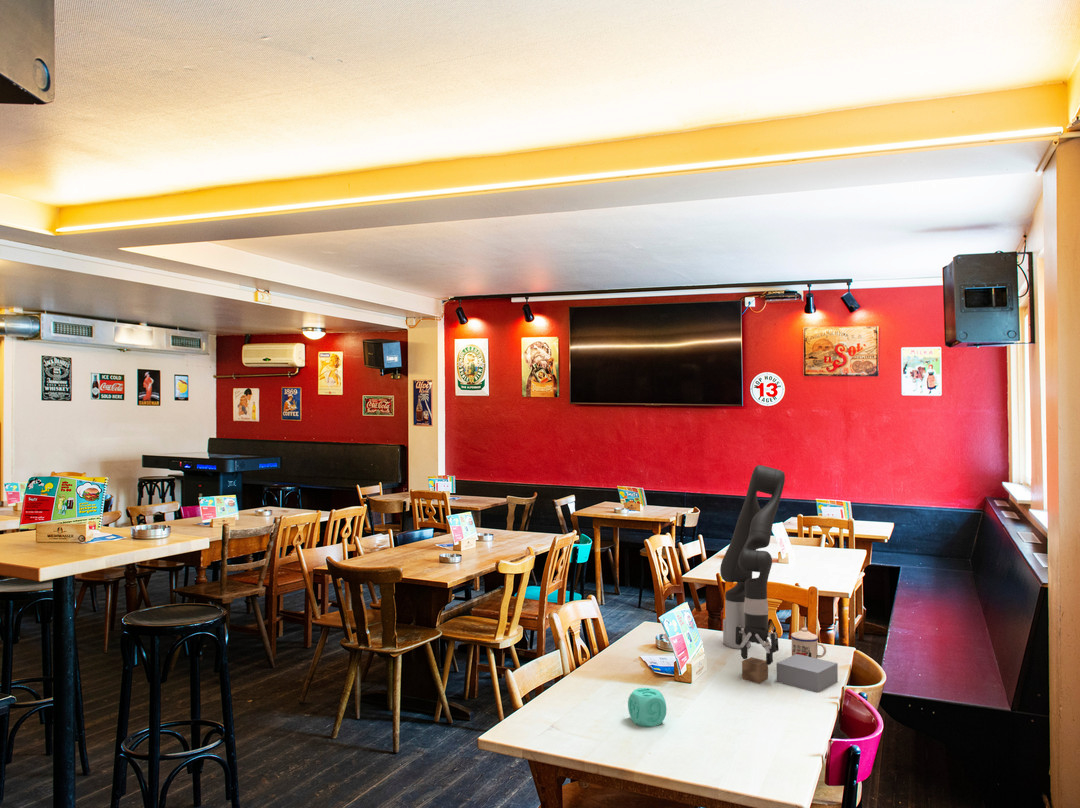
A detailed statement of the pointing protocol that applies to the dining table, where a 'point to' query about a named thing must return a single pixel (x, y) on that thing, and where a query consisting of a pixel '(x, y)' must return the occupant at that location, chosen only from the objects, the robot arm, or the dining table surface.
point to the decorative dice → (647, 707)
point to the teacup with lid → (806, 644)
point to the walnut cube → (754, 670)
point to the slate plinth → (807, 672)
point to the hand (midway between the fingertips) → (756, 661)
